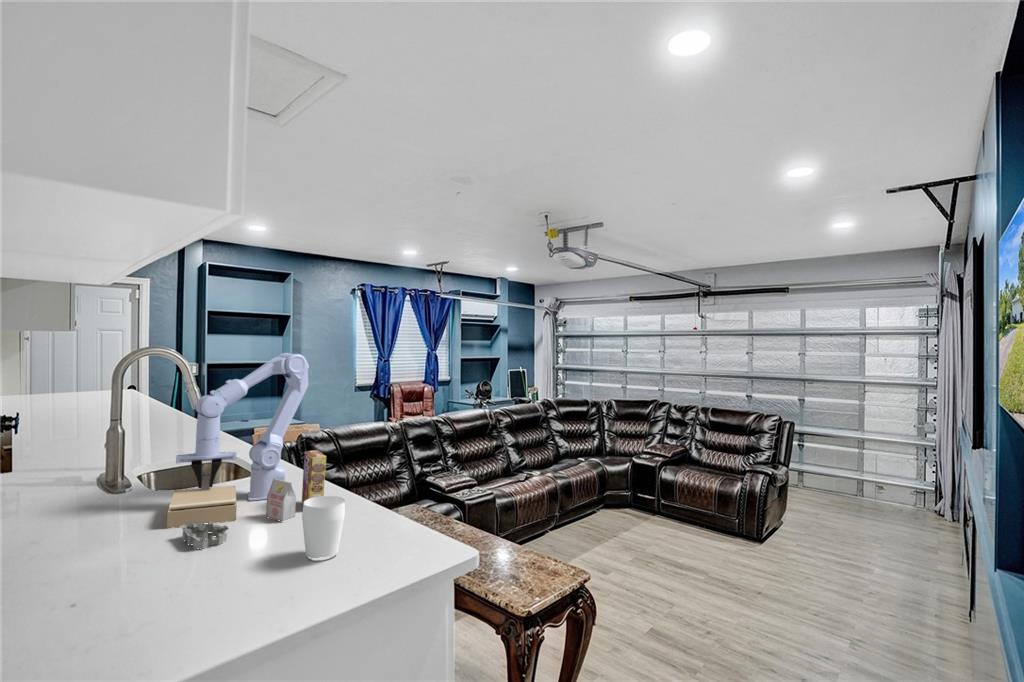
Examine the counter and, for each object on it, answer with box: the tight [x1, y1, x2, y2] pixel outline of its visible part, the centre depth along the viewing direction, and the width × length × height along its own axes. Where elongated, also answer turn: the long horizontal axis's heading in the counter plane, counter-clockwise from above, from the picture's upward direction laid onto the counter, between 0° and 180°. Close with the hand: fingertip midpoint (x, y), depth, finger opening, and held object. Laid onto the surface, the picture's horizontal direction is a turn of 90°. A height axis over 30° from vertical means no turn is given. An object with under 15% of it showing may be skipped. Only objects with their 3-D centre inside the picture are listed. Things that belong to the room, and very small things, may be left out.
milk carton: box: [265, 479, 297, 521], centre depth 136 cm, size 4×7×10 cm, turn 61°
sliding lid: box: [168, 473, 237, 510], centre depth 137 cm, size 15×16×4 cm
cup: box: [301, 495, 346, 558], centre depth 114 cm, size 9×9×12 cm
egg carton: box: [181, 522, 229, 550], centre depth 119 cm, size 11×8×4 cm
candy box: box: [301, 450, 327, 505], centre depth 147 cm, size 9×4×15 cm, turn 35°
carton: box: [166, 502, 237, 529], centre depth 136 cm, size 15×16×4 cm
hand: (205, 486), depth 143 cm, fingers closed on sliding lid, 2 cm apart
